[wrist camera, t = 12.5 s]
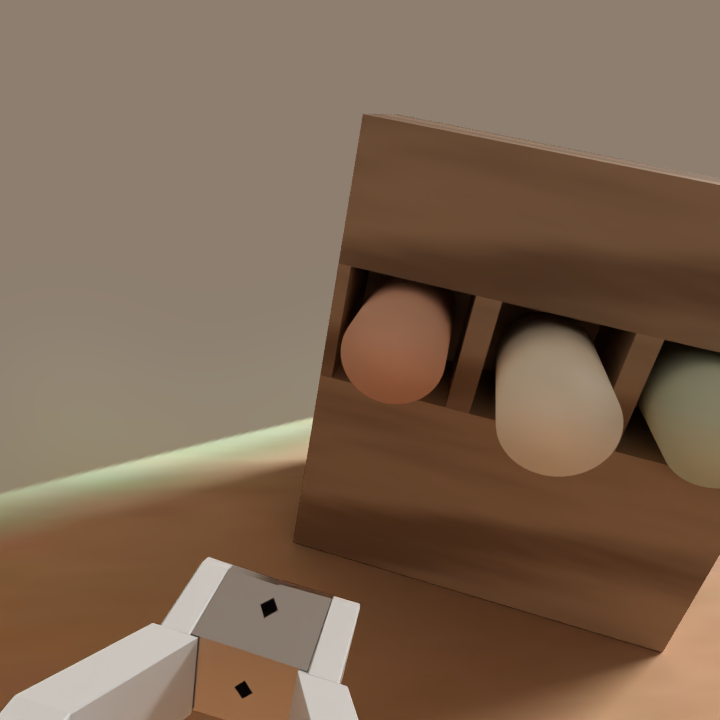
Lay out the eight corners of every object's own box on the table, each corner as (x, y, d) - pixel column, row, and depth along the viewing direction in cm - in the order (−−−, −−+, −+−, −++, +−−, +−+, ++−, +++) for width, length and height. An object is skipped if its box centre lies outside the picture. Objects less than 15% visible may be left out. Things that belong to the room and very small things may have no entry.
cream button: (598, 490, 19) (642, 387, 18) (481, 458, 20) (515, 356, 18) (575, 408, 25) (608, 324, 23) (484, 385, 25) (510, 301, 24)
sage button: (757, 501, 21) (813, 406, 19) (644, 471, 21) (688, 376, 19) (702, 421, 26) (742, 341, 24) (613, 399, 27) (646, 319, 25)
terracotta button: (432, 415, 22) (457, 320, 20) (333, 389, 23) (350, 294, 21) (444, 356, 28) (465, 277, 26) (364, 336, 28) (379, 258, 26)
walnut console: (662, 652, 26) (913, 223, 18) (293, 542, 29) (363, 113, 20) (626, 537, 34) (793, 193, 25) (333, 456, 36) (397, 114, 27)
